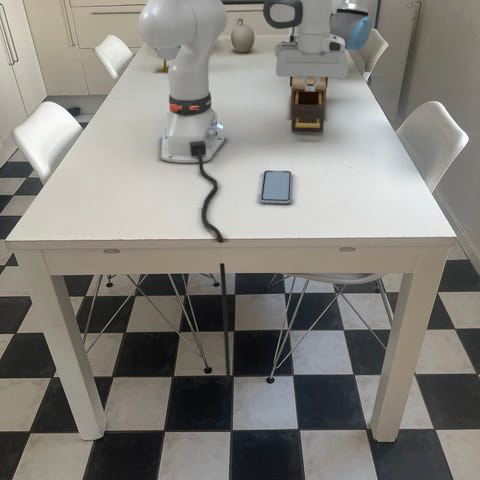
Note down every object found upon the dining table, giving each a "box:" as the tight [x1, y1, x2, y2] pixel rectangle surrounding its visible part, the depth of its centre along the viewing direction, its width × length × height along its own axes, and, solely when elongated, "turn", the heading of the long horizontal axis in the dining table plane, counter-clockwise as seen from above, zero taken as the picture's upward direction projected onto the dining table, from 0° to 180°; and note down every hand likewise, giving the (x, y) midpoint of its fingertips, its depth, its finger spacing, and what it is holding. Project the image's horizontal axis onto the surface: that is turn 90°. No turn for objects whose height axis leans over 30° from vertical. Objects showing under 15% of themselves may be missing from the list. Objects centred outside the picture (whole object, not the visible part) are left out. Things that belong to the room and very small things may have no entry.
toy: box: [154, 46, 181, 73], centre depth 204 cm, size 8×20×24 cm, turn 69°
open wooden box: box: [289, 76, 327, 120], centre depth 171 cm, size 20×11×10 cm, turn 174°
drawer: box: [290, 91, 326, 134], centre depth 159 cm, size 24×10×8 cm, turn 174°
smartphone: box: [259, 169, 293, 205], centre depth 129 cm, size 7×1×15 cm
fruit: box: [230, 18, 255, 53], centre depth 228 cm, size 10×12×15 cm
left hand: (310, 91), depth 150 cm, fingers closed
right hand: (308, 85), depth 176 cm, fingers open, 11 cm apart
